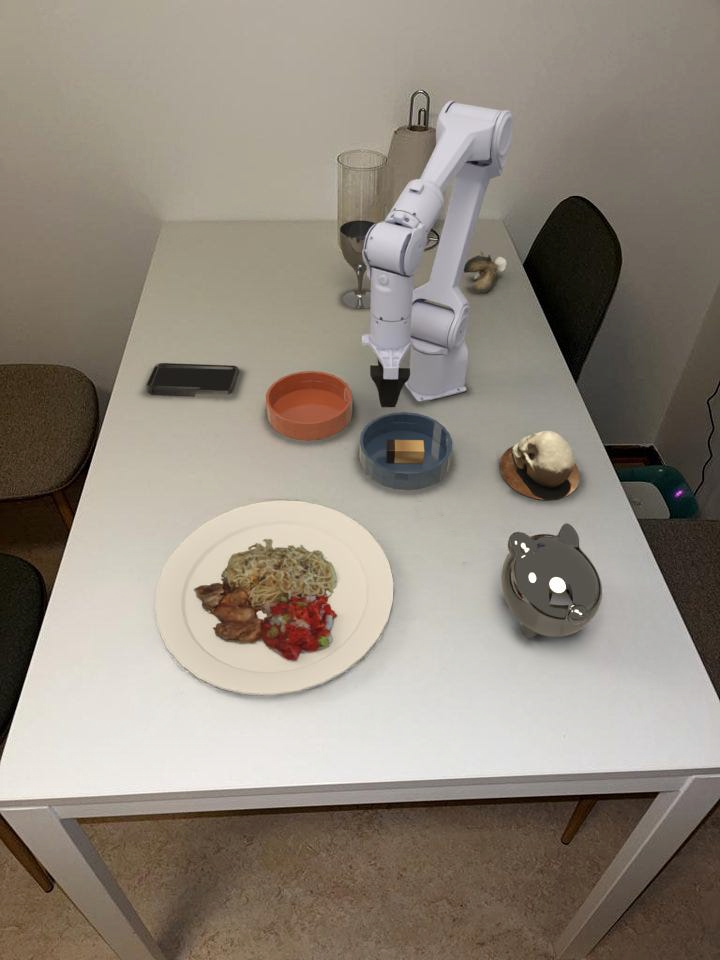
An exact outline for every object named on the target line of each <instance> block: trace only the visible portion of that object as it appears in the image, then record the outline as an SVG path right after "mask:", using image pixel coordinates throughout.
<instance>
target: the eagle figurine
mask: <svg viewBox="0 0 720 960" xmlns="http://www.w3.org/2000/svg"><path fill="white" fill-rule="evenodd" d="M506 267H507V260H506V258H504V257H503V256H497V257H496V258H495V260H493V259H492V258H491V255H490V254H488V255H487V256H485V254H484V252H483V251H482V250H480V255H476V256H474V257H471V258H469V259H467V260H466V263H465V267H464V270H463V273H467V274H469V273H473V274H474V273H475V275H474V277H473V279H472V280H473V281H475V280H476V281H475V282H474V283H473V284H472V285H470V286H469V290H470V291H471V293H473V294H484V293H487V292H489V291H490V290H491V289H492V288H493V287H494V286H495V284H496V283H497V282H498V279H499V275H498V273H497V272H502V273H503V272H504V271H505V269H506Z"/></svg>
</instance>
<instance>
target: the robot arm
mask: <svg viewBox="0 0 720 960" xmlns="http://www.w3.org/2000/svg"><path fill="white" fill-rule="evenodd" d="M514 121H515V120H514V117H513V115H512V112H511V110H507V109H503V110H502V109H501V110H500V109H495V108H489V107H483V106H477V105H472V104H466V103H462V102H461V103H460V102H457V101H454V100H448V101H447V102H446V103H445V105H443V107H442V108H441V110H440V112H439V114H438V116H437V120H436V126H435V147H434V149H433V151H432V153H431V156H430V157H429V158H428V162H427V163H426V165H425V168H424V170H423V172H422V174H421V176H420V178H415V179H412V180H410V181H408V183H407V184H406V185H405V187H404V189H403V190H402V192H401V193H400V195H399V196H398V198H397V199H396V202H395V203H394V205H393V206H392V208H391V209H390V211H389V213H388V214H387V216H386V217H385V219H384V220H382V221H379V222H378V223H376V224H374V225H373V226H372V227H371V228H370V229H369V231H368V233H367V235H366V238H365V242H364V249H363V251H362V256H363V261H364V263H365V265H366V267H367V270H366V277H367V278H368V279H369V280H370V293H371V303H370V307H369V309H370V311H369V313H370V316H369V319H370V320H369V327H370V328H369V333H365V334H362V335H361V345H362V346H364V347H369V348H370V349H371V351H372V352H373V353H374V355H375V356H376V359H377V365H372V364H370V365H369V376H370V378H371V380H372V381H373V383H374V385H375V387H376V391H377V394H378V399H379V404H380V407H381V408H396V406H397V404H398V401H399V398H400V395H401V392H402V389H403V387H404V386H405V387H406V388H407V389H408V390H409V392H410V393H411V395H412V396H413V397H414V398H415V400H416V401H417V402H423V401H427V400H428V401H433V400H436V399H441V398H445V397H449V396H453V395H457V394H461V393H465V392H467V387H466V386H465V384H466V377H467V372H468V371H467V369H468V363H469V351H468V346H467V344H466V342H465V338H466V335H467V331H468V327H469V317H470V313H471V304H470V302H469V300H468V299H467V297H466V296H465V295H464V294H463V292H462V291H461V289H460V284H461V281H462V277H463V273H464V271H463V270H464V267H465V264H466V262H467V261H468V256H469V252H470V249H471V245H472V241H473V237H474V235H475V231H476V227H477V224H478V220H479V216H480V213H481V209H482V206H483V202H484V199H485V195H486V192H487V189H488V188H489V187H488V186H489V183H490V181H491V180H492V179H494V178H497V177H500V176H501V175H502V173H503V169H504V168H505V166H506V162H507V158H508V155H509V152H510V149H511V145H512V141H513V137H514V126H515V125H514V124H515V123H514ZM454 179H455V181H454ZM453 181H454V185H453V190H452V193H451V196H450V201H449V204H448V209H447V212H446V215H445V220H444V223H443V227H442V230H441V233H440V238H439V242H438V245H437V250H436V254H435V257H434V260H433V264H432V268H431V273H430V276H429V280H428V282H426V283H424V284H422V285H420V286H418V287H416V288H414V284H415V283H414V281H415V273H416V272H417V270H418V268H420V265H421V262H422V260H423V257H424V252H425V249H426V248H427V244H428V234H429V233H430V231H432V228H433V226H434V225H435V223H436V221H437V220H438V218H439V216H440V215H441V213H442V211H443V210H444V207H445V197H444V195H443V194H444V193H445V191H446V190H447V189H448V187H449V186H450V184H451V183H452V182H453ZM429 301H430V302H429ZM432 302H433V303H432ZM435 303H437V304H435ZM439 304H440V305H439ZM442 305H445V306H442ZM446 306H447V307H446ZM409 349H410V353H409V367H400V365H401V363H402V362H403V360H404V358H405V356H406V355H407V353H408V351H409Z"/></svg>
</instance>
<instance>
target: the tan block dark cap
mask: <svg viewBox="0 0 720 960" xmlns="http://www.w3.org/2000/svg"><path fill="white" fill-rule="evenodd" d="M386 455H387V463H410V464H423V460H424V441H423V440H394V439H387V451H386Z"/></svg>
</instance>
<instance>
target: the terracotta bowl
mask: <svg viewBox="0 0 720 960" xmlns="http://www.w3.org/2000/svg"><path fill="white" fill-rule="evenodd" d="M265 406H266V415H267V420H268V422H269V424H270V426H271V427H272V428H273V429H274V430H275V431H276V432H277V433H279V434H281V435H283V436H285V437H287V438H290V439H293V440H298V441H299V440H301V441H317V440H323V439H326V438H329V437H332V436H334V435H336V434H338V433H340V432H341V431H343V430H344V429H345V428H346V427H347V426H348V425H349V423H350V422H351V420H352V415H353V393H352V389H351V388H350V386H349V384H348V383H347V382H346V381H344V380H343V379H342V378H341V377H339V376H336V375H334V374H332V373H328V372H324V371H315V370H305V371H303V370H302V371H298V372H293V373H289V374H287V375H285V376H282V377H280V378H279V379H277V380H275V381H274V382H273V383H272V384H271V385H270V386H269V387H268V389H267V392H266V394H265Z"/></svg>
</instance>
